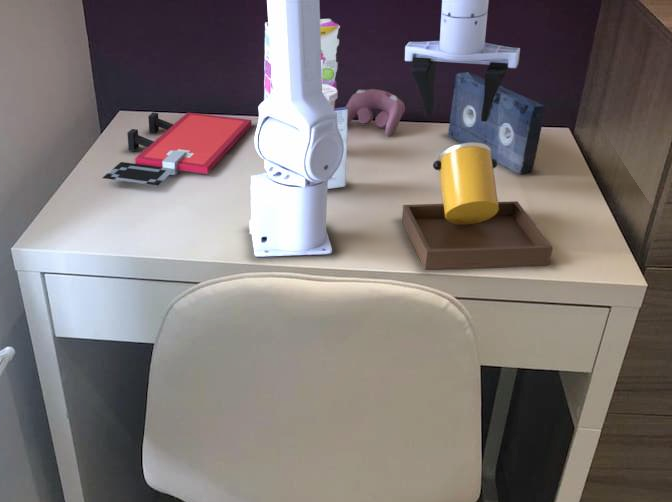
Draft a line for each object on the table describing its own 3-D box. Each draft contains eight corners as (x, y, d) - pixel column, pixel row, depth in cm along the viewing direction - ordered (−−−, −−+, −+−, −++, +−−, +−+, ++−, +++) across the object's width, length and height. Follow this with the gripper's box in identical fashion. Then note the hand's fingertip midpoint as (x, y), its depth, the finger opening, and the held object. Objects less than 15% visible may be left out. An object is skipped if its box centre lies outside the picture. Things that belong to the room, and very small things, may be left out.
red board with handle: (90, 182, 119) (190, 196, 116) (88, 163, 117) (189, 177, 114) (167, 118, 142) (251, 128, 140) (166, 101, 141) (251, 111, 138)
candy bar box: (271, 135, 136) (272, 29, 126) (263, 125, 140) (262, 21, 130) (336, 128, 138) (341, 24, 129) (325, 118, 142) (330, 16, 133)
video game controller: (399, 140, 138) (411, 97, 137) (390, 135, 134) (402, 91, 133) (347, 129, 143) (358, 87, 141) (336, 124, 139) (347, 81, 137)
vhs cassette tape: (534, 172, 124) (547, 105, 118) (517, 175, 123) (530, 107, 117) (461, 133, 137) (470, 70, 131) (446, 135, 136) (454, 73, 130)
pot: (441, 240, 104) (451, 161, 98) (421, 206, 112) (430, 131, 106) (506, 237, 104) (520, 159, 99) (482, 204, 113) (494, 130, 107)
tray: (424, 269, 99) (426, 251, 98) (401, 221, 110) (403, 204, 108) (549, 265, 100) (553, 247, 99) (514, 217, 111) (517, 201, 109)
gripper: (528, 4, 106) (515, 109, 114) (415, 0, 110) (411, 101, 119) (519, 21, 101) (506, 129, 109) (401, 16, 105) (398, 120, 114)
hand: (456, 116), depth 114 cm, fingers open, 7 cm apart
